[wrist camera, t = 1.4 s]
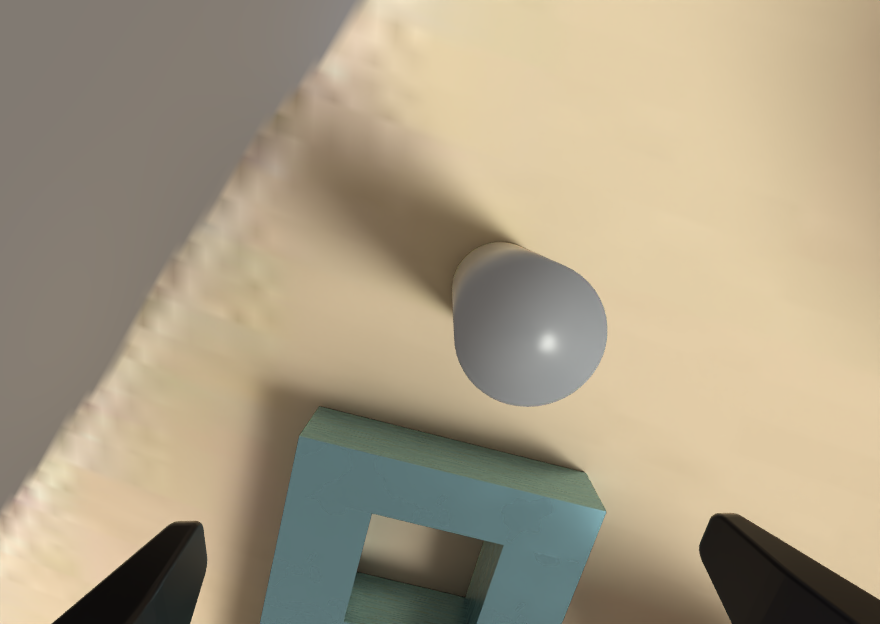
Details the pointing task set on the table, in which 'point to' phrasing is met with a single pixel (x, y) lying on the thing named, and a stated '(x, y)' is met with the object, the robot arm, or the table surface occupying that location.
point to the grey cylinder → (525, 325)
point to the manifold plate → (432, 505)
